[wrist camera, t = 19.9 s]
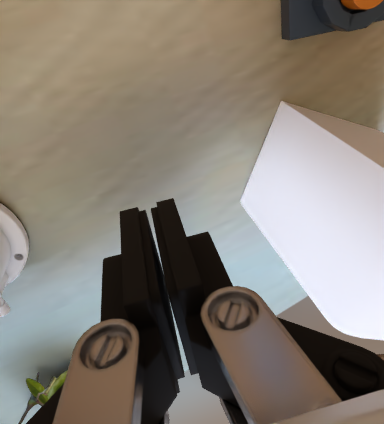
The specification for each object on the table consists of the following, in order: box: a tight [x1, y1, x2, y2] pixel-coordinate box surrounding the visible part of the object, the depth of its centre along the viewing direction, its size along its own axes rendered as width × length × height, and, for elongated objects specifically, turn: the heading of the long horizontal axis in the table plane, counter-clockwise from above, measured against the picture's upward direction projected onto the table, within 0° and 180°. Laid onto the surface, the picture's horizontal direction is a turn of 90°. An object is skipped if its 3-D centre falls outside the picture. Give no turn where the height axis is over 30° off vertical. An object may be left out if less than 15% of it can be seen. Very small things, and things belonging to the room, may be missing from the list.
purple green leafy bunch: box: [18, 370, 68, 424], centre depth 45 cm, size 11×11×12 cm
